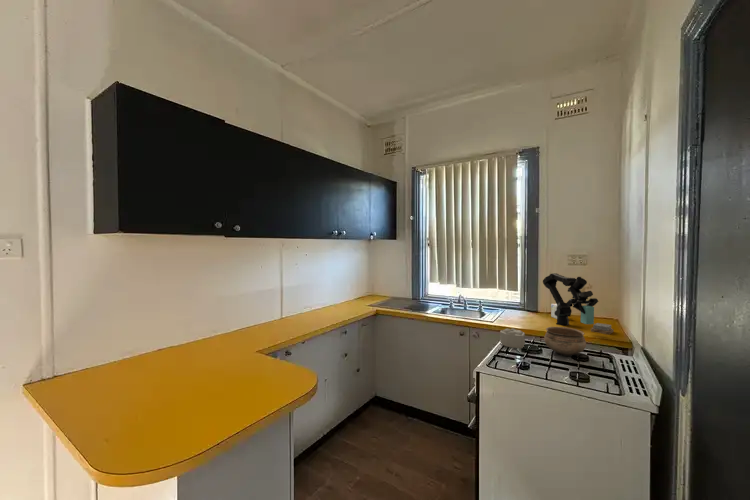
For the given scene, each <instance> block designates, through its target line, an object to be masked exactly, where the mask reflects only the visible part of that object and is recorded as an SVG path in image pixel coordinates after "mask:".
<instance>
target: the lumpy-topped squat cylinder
mask: <svg viewBox="0 0 750 500" xmlns="http://www.w3.org/2000/svg"><path fill="white" fill-rule="evenodd" d="M499 332H500V333H499V343H500V342H501V343H502V344H503V345H502V344H501V345H502V346H505V347H508V348H514V349H524V348H525V346H526V345H525V344H526V342H525V341H526V333H525V332H523V331H522V330H520V329H516V328H511V329H510V328H505V329H502V330H500V331H499ZM524 345H525V346H524ZM523 347H524V348H523Z"/></svg>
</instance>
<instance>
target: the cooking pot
mask: <svg viewBox="0 0 750 500" xmlns="http://www.w3.org/2000/svg"><path fill="white" fill-rule="evenodd" d="M545 330H546V332H545V334H544V338H543V339H544V342H545V345H546V346H547V347H548V348H549V349H550V350H552V351H553V352H555V353H556V354H558V355H560V356H565V357H571V356H575V355H578V354H581V353H582V352H583V351H584V350H585V349H586V347H587V341H586V338H585V336H584V335H585V332H584V331H582V330H579V329H576V328H571V327H566V326H565V327H564V326H550V327H549V326H548V327H545Z"/></svg>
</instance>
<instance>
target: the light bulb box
mask: <svg viewBox="0 0 750 500" xmlns="http://www.w3.org/2000/svg"><path fill="white" fill-rule="evenodd" d="M556 308H557V304H556V303H551V304H550V312H551V313H550V315H551V316H550V317H551V318H554V319H556V320H557V316H556V315H555V311H556V310H557V309H556Z"/></svg>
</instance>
